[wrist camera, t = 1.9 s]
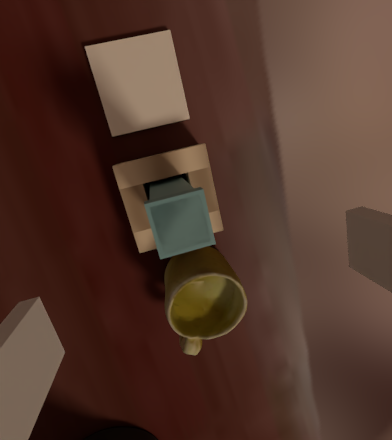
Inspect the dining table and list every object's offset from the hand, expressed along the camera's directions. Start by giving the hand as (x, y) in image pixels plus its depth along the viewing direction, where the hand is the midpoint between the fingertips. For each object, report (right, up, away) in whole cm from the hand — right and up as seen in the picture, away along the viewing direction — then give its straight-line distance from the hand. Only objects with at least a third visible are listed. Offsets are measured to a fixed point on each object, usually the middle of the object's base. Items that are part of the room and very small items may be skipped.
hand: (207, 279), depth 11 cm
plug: (-4, +6, +22) cm, 23 cm away
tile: (-7, +17, +18) cm, 26 cm away
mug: (-1, -6, +26) cm, 27 cm away
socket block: (-4, +6, +22) cm, 23 cm away
